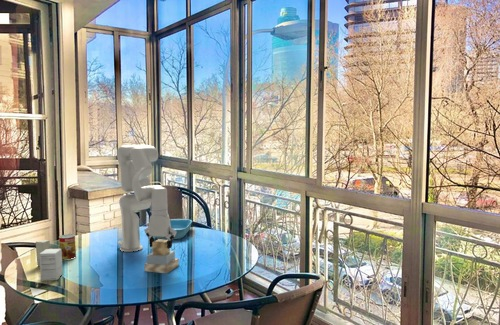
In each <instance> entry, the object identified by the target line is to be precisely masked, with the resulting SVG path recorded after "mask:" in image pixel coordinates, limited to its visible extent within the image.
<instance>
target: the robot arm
mask: <svg viewBox="0 0 500 325" xmlns="http://www.w3.org/2000/svg"><path fill="white" fill-rule="evenodd" d="M116 158H117V161H118V164H119V167H120V183H121V184H120V185H121V189H122V191H123V192H124V193H131V194H125V195H122V196H121V197H120V198H119V208H120V213H121V234H122V235H121V236H122V237H121V238H122V240H118V241H117V246H120V247H119V251H120V250H121V251H120V252H123V251H124V252H123V253H131V252H132V253H134V252H137V251H138V250H139V251H141V250H143V248H144V246H143V245H142V244H141V238H140V218H139V217H140V216H138V214H137V213H136V211H142V210H148V209H150V208H151V209H150V210H149V213H151V215H150V217H149V221H148V227H147V228H145V229H143V230H144V233H145V236H146V237H147V238H148V239H149V240H148V244H149V248H152V242H154V241H155V238H156V237H166V238H167V239H166V240H168V241H167V248H168V249H169V248H170V249H171V248H172V247H173V240H174V239H173V238H174V237H175V235H176V233H177V231H175V230H174V229H172V228H171V224H170V220H171V219H170V216H169V213H168V206H169V205H168V189H167V187H164V186H162V185H161V184H160V185H159V184H152V185H151V180H150V177H149V176H150V175H151V174H152V173H153V171H154V169H153V168H154V167H153V165H152V162H157V161H158V159H159V152H158V150H157V148H156V147H155V146H154V145H148V144H129V145H128V144H127V145H121V146H119V147H118V148H117V150H116ZM171 232H172V233H173V234H172V236H171ZM155 236H156V237H155ZM133 251H134V252H133Z"/></svg>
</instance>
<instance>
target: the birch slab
mask: <svg viewBox="0 0 500 325" xmlns="http://www.w3.org/2000/svg"><path fill="white" fill-rule="evenodd" d="M179 261H180V260H179V258H176V257H175V259H174V260H173V261H171V262H170V263H169V264H168V265H157V264H147V262H146V263H144V272H150V273H151V272H152V273H157V274H158V273H159V274H168V273H170V272H171V271H173V270H174V269H176V268H177V267H179V265H180V264H179V263H180V262H179Z"/></svg>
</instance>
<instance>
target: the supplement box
mask: <svg viewBox="0 0 500 325" xmlns="http://www.w3.org/2000/svg"><path fill="white" fill-rule="evenodd" d="M39 256H40V267H39V269H40V271H39V272H40V273H39V274H40V281H41V282H42V281H45V282H46V281H57V280H59V279H60V278H61V277H62V276H63V275H64V270H63V260H62V250H61V249H59V248H50V249H45V250H44V251H43V252H41V253H40V254H39ZM62 274H63V275H62ZM61 275H62V276H61ZM60 276H61V277H60Z"/></svg>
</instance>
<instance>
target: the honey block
mask: <svg viewBox="0 0 500 325" xmlns="http://www.w3.org/2000/svg"><path fill="white" fill-rule="evenodd" d="M167 241H168V239H156V240H154V242H152V247H151V248H152V249H151V250H152V252H153V255H163V256H164V255H165V254H167V253H169V252H170V251H171V248H169V249H168V248H167Z"/></svg>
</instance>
